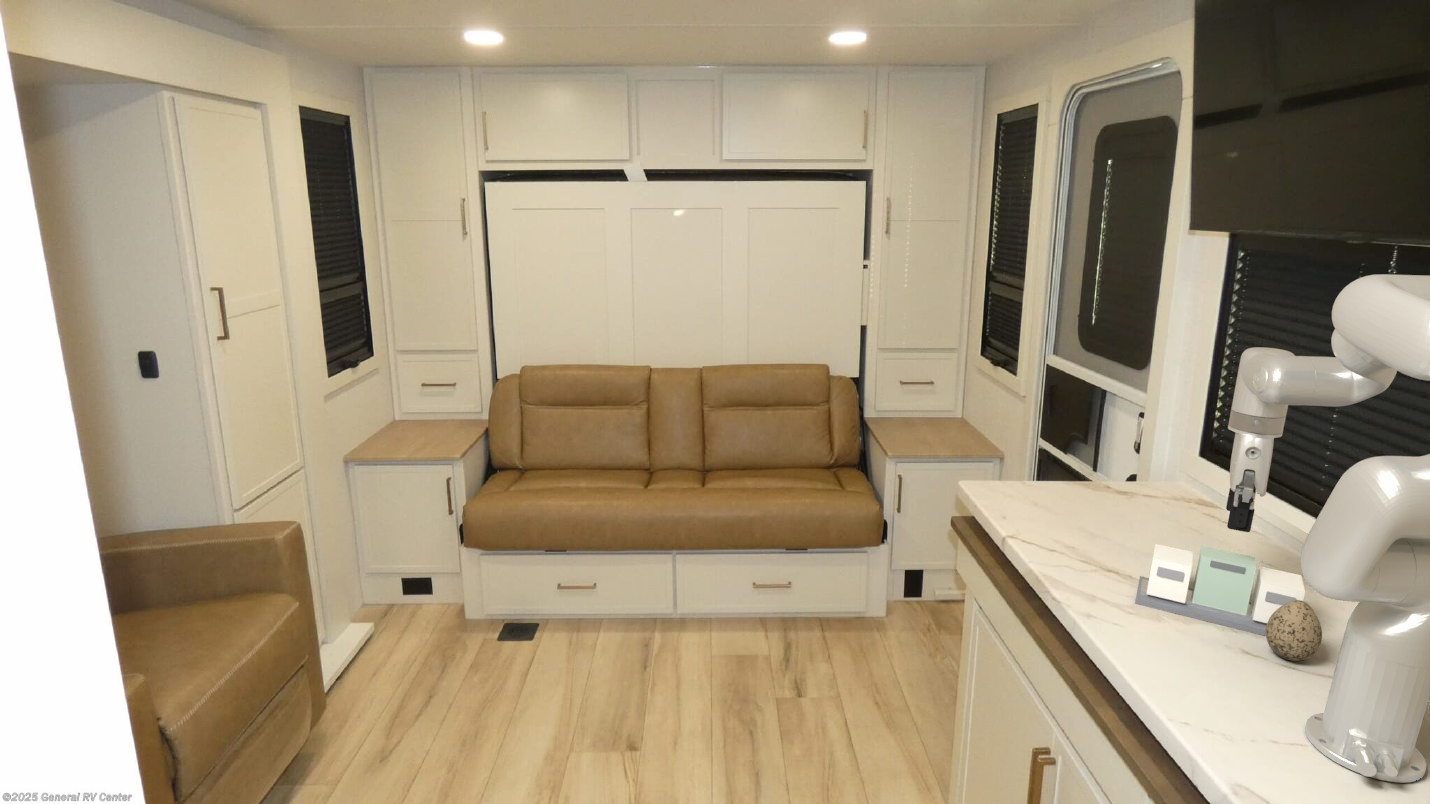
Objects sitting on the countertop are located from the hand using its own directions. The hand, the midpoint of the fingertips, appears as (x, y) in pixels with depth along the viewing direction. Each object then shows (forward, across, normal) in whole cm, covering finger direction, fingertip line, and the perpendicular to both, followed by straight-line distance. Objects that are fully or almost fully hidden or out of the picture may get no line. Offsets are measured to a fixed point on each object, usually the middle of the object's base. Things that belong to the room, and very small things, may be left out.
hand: (1237, 520), depth 136 cm
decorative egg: (+18, -10, -9) cm, 22 cm away
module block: (+16, +1, 0) cm, 16 cm away
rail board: (+17, +1, 0) cm, 17 cm away
